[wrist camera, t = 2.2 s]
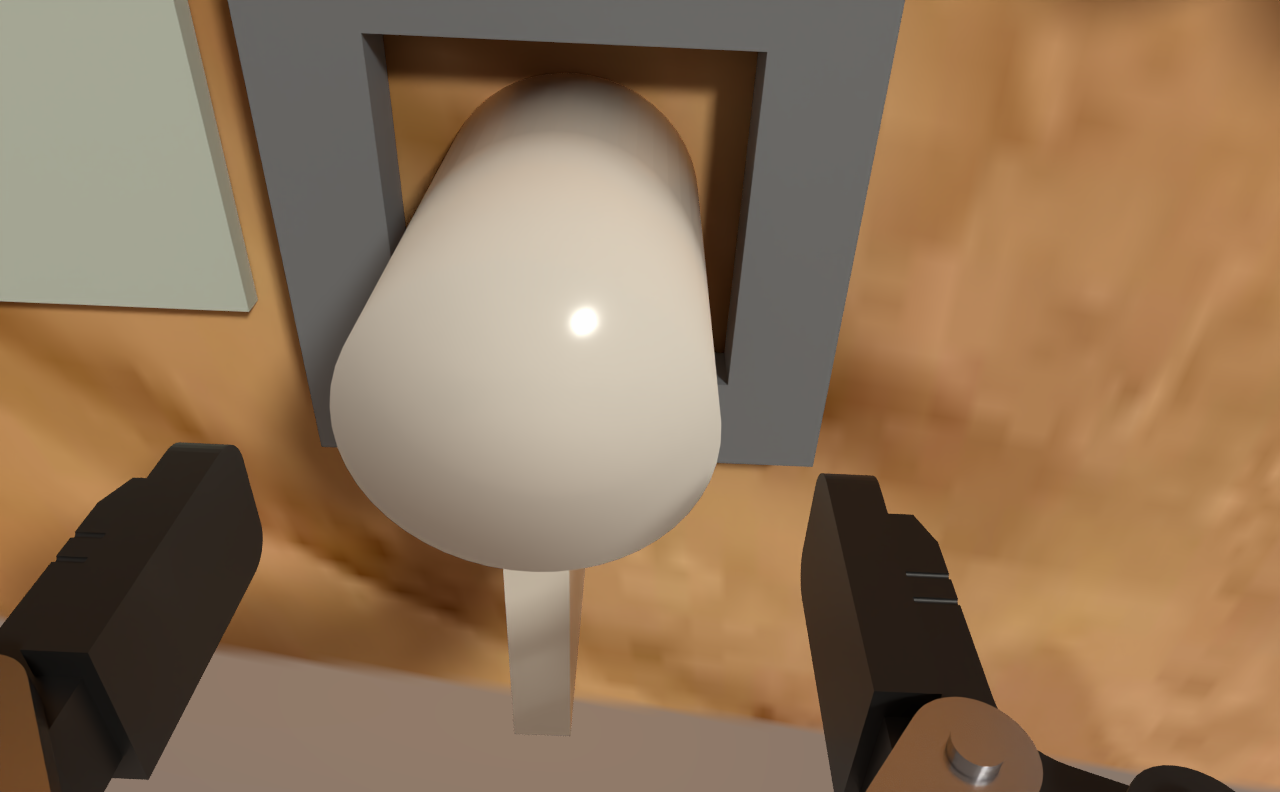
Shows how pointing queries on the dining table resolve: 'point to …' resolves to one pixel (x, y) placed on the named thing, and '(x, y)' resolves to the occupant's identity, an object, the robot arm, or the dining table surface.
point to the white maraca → (540, 360)
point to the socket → (592, 14)
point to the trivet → (113, 161)
